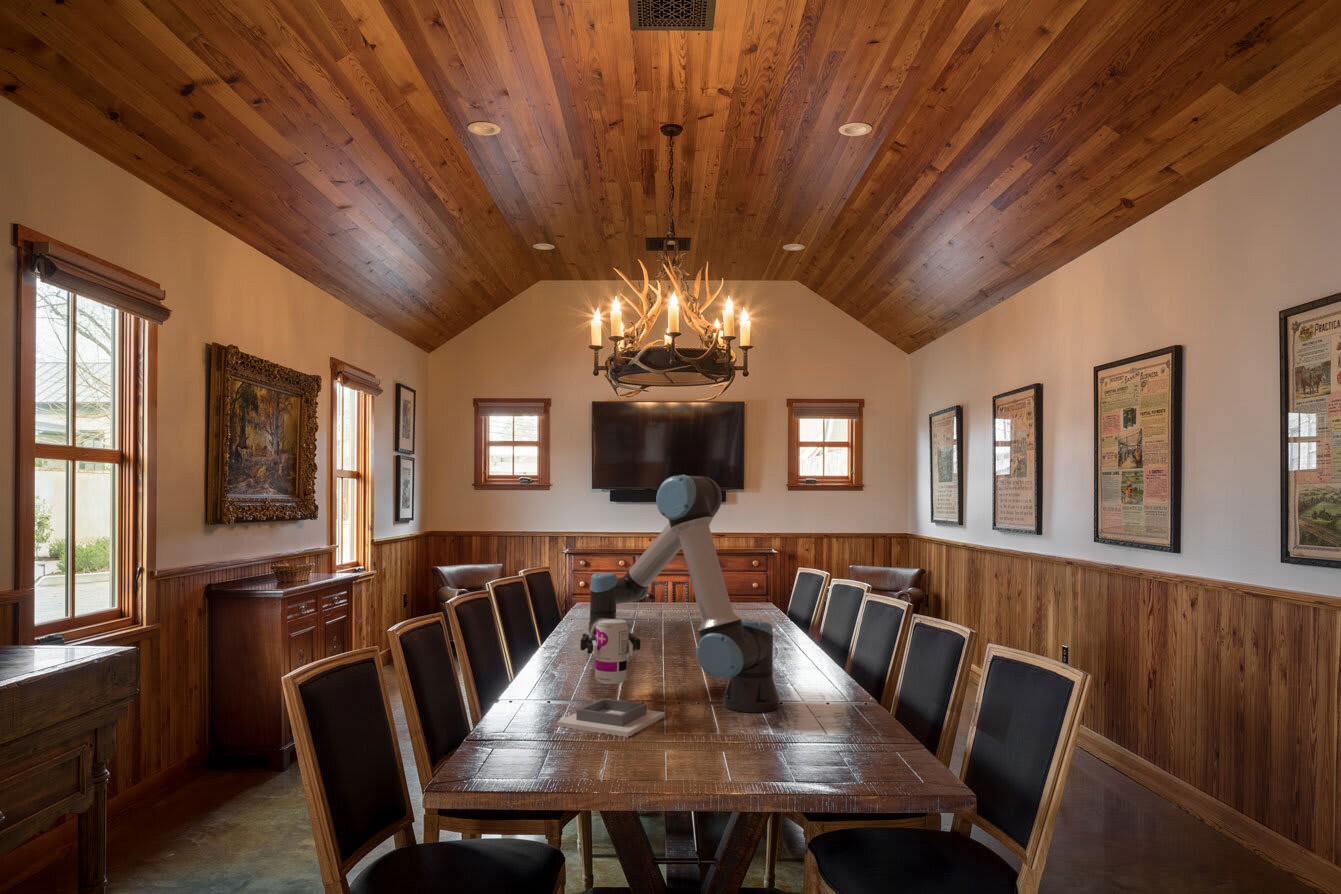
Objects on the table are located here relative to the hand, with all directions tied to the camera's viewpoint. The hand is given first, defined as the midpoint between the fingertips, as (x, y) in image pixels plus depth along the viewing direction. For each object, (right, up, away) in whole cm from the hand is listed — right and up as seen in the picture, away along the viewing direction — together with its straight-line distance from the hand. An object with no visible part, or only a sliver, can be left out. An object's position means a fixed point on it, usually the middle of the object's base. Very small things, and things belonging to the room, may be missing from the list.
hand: (613, 650), depth 205 cm
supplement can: (-1, -9, +4) cm, 10 cm away
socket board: (-1, -19, +3) cm, 19 cm away
